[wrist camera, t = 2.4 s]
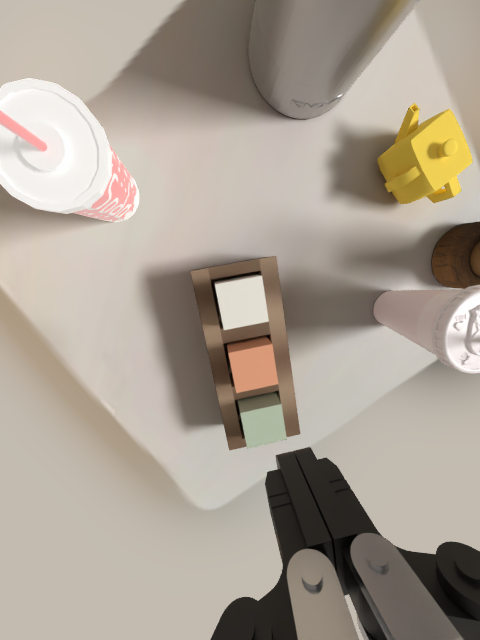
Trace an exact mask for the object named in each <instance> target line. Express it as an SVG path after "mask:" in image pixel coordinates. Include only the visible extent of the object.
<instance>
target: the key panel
mask: <svg viewBox="0 0 480 640" xmlns="http://www.w3.org/2000/svg"><path fill="white" fill-rule="evenodd" d="M252 274H257V275H261V276H262V279H263V285H264V292H265V299H266V305H267V312H268V319H269V322H264V323H259V324H253V325H248V326H243V327H238V328H233V329H228V330H224V328H223V323H222V318H221V313H220V308H219V303H218V298H217V293H216V288H215V281H220V280H225V279H231V278H236V277H242V276H247V275H252ZM191 277H192V281H193V286H194V290H195V295H196V299H197V304H198V309H199V313H200V318H201V322H202V327H203V332H204V336H205V341H206V345H207V350H208V354H209V359H210V364H211V368H212V373H213V377H214V382H215V387H216V391H217V396H218V400H219V405H220V410H221V414H222V419H223V423H224V428H225V432H226V437H227V442H228V446H229V450H233V449H238V448H242V447H246V446H247V445H246V440H245V435H244V430H243V425H242V420H241V414H240V409H239V404H238V399H242V398H246V397H251V396H256V395H260V394H265V393H269V392H274V391H275V392H276V394H277V396H278V398H279V400H280V402H281V405H282V411H283V418H284V424H285V431H286V437H289V436H294V435H298V434H300V429H299V422H298V414H297V407H296V399H295V392H294V385H293V377H292V370H291V363H290V355H289V348H288V340H287V333H286V326H285V318H284V311H283V303H282V296H281V289H280V281H279V274H278V266H277V259H276V256H272V257H264V258H258V259H253V260H247V261H242V262H236V263H231V264H225V265H220V266H214V267H209V268H203V269H198V270H193V271H191ZM263 335H266V336H267V338H268V339H269V340H270V342H271V343H272V345H273V352H274V358H275V365H276V371H277V378H278V384H277V385H272V386H267V387H263V388H258V389H253V390H249V391H244V392H240V393H236V389H235V384H234V379H233V374H232V369H231V364H230V359H229V354H228V348H227V343H228V342H233V341H238V340H243V339H248V338H253V337H258V336H263Z"/></svg>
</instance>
